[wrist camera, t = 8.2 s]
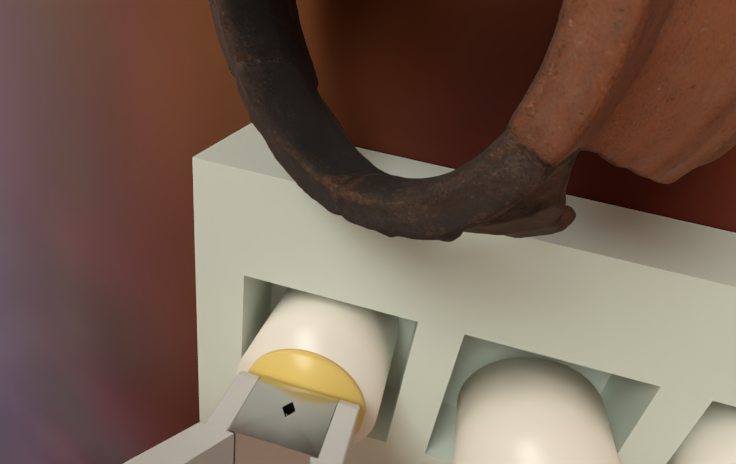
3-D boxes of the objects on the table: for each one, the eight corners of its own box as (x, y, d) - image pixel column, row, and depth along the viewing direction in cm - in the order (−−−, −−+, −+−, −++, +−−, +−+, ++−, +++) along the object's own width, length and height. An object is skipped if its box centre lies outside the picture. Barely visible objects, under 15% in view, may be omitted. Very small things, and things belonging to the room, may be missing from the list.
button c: (409, 288, 13) (388, 370, 10) (386, 380, 15) (363, 472, 12) (286, 256, 13) (233, 326, 11) (277, 350, 15) (231, 431, 12)
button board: (980, 288, 11) (1133, 381, 8) (746, 529, 16) (796, 636, 13) (250, 123, 13) (192, 157, 10) (242, 380, 18) (200, 446, 15)
